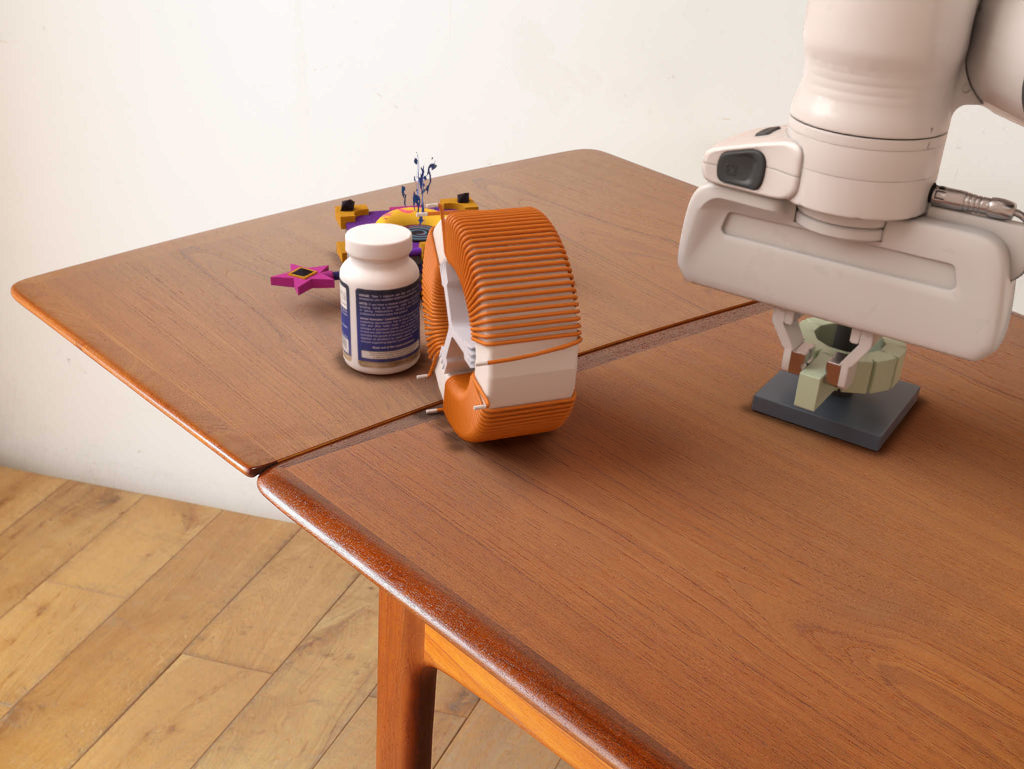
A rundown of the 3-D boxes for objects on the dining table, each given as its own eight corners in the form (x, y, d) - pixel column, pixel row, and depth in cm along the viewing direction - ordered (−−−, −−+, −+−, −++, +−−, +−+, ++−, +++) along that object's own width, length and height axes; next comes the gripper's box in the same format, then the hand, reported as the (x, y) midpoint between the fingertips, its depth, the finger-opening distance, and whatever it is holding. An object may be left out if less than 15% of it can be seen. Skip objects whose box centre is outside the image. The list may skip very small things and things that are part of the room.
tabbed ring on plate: (912, 365, 74) (919, 334, 73) (859, 427, 66) (867, 393, 65) (811, 336, 78) (817, 306, 77) (750, 391, 70) (755, 359, 69)
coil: (500, 370, 78) (507, 174, 70) (578, 478, 65) (597, 253, 58) (409, 382, 75) (407, 180, 68) (472, 496, 63) (478, 265, 56)
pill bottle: (435, 355, 79) (435, 230, 75) (388, 385, 75) (385, 253, 70) (375, 336, 82) (372, 213, 77) (326, 363, 78) (320, 235, 73)
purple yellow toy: (571, 294, 91) (581, 154, 85) (276, 322, 83) (265, 171, 78) (517, 236, 103) (523, 110, 97) (256, 256, 95) (245, 121, 90)
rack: (917, 400, 76) (954, 255, 71) (877, 452, 69) (914, 296, 64) (798, 364, 80) (825, 224, 75) (750, 409, 74) (776, 260, 68)
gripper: (1058, 193, 59) (995, 408, 65) (723, 128, 69) (697, 319, 75) (1034, 222, 54) (969, 450, 61) (679, 147, 64) (656, 350, 71)
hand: (816, 377), depth 68 cm, fingers closed on tabbed ring on plate, 1 cm apart
